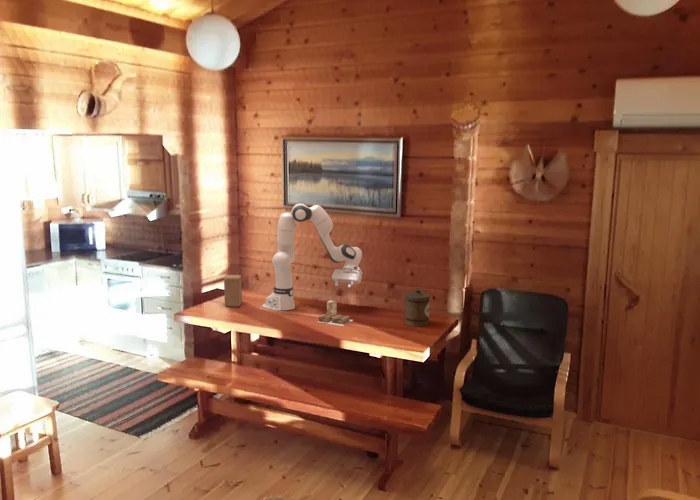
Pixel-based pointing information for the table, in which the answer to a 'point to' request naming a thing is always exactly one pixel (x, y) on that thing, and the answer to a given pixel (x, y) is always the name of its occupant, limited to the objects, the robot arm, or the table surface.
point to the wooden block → (233, 290)
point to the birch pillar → (332, 308)
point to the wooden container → (417, 308)
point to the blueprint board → (335, 323)
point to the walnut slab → (340, 319)
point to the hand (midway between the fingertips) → (342, 286)
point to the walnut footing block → (325, 318)
